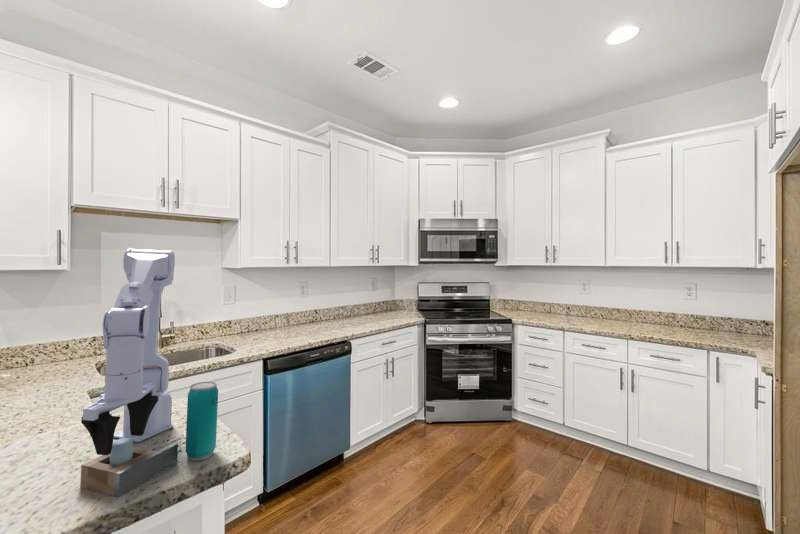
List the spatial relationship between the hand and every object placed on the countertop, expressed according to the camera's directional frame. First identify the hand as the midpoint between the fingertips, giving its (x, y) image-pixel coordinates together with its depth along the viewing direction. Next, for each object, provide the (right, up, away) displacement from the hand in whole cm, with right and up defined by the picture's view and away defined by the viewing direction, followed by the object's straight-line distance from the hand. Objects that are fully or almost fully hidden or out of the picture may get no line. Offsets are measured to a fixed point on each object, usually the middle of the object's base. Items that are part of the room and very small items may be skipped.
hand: (121, 444), depth 69 cm
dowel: (0, -7, 0) cm, 7 cm away
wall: (+5, -7, +1) cm, 8 cm away
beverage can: (+10, -7, +10) cm, 15 cm away
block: (0, -7, 0) cm, 7 cm away
